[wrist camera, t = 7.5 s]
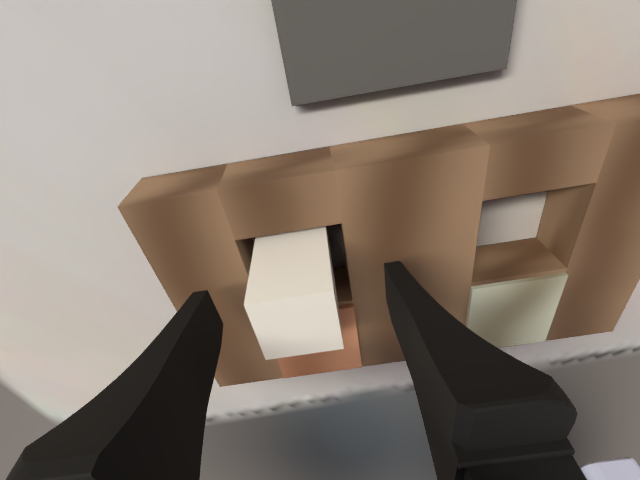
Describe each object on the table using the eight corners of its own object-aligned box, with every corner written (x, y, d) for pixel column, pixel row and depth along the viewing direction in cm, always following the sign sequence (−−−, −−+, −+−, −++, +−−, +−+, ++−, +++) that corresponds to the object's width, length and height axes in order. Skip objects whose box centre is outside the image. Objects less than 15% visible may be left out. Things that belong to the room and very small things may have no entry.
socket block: (665, 89, 14) (735, 106, 12) (581, 298, 21) (615, 334, 19) (142, 178, 15) (115, 209, 13) (227, 350, 22) (219, 389, 20)
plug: (322, 202, 16) (333, 291, 11) (330, 252, 18) (343, 348, 13) (259, 212, 16) (243, 304, 11) (274, 261, 18) (265, 359, 13)
